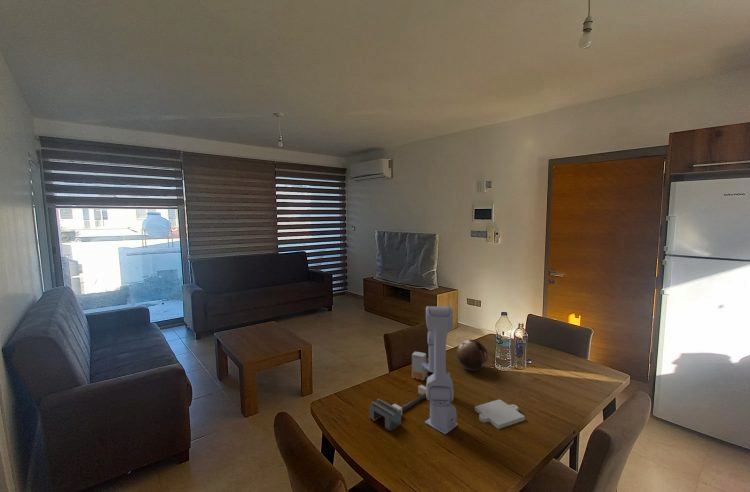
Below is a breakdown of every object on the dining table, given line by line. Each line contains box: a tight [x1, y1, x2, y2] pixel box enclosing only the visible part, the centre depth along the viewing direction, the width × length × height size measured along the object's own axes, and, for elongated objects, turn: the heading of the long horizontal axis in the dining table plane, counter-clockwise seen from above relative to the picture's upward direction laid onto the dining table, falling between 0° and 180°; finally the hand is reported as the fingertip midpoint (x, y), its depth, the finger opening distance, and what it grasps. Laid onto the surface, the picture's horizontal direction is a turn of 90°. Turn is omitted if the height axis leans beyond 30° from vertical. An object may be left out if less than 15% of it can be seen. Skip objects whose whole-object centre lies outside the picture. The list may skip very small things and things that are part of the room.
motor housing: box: [369, 398, 402, 432], centre depth 126 cm, size 11×6×6 cm, turn 43°
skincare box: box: [411, 351, 427, 381], centre depth 159 cm, size 6×4×12 cm
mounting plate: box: [474, 398, 526, 430], centre depth 129 cm, size 18×13×2 cm
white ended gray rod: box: [391, 384, 426, 416], centre depth 136 cm, size 8×24×3 cm, turn 133°
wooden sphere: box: [456, 339, 489, 372], centre depth 167 cm, size 15×15×15 cm
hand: (434, 387), depth 147 cm, fingers closed
